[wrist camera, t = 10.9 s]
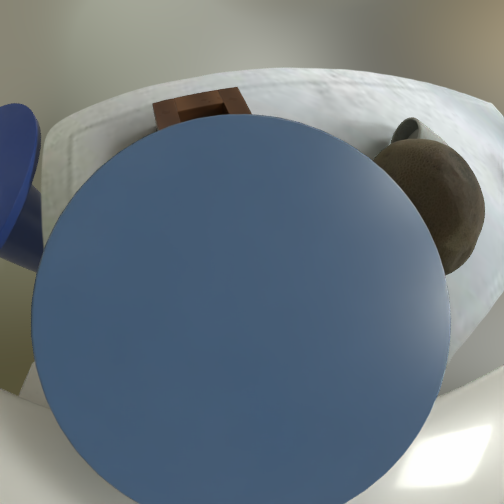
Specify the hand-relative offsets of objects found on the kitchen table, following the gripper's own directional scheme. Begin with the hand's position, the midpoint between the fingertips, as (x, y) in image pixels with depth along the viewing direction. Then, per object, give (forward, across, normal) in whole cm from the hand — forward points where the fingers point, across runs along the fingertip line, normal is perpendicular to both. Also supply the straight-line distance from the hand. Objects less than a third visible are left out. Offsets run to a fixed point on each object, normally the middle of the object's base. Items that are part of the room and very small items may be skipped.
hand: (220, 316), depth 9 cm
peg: (+6, 0, +6) cm, 8 cm away
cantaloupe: (+20, -20, +5) cm, 29 cm away
